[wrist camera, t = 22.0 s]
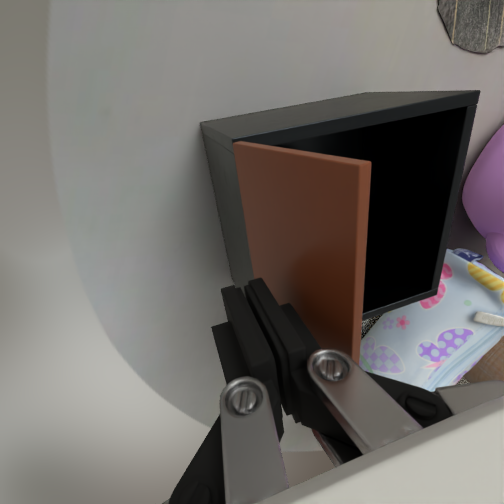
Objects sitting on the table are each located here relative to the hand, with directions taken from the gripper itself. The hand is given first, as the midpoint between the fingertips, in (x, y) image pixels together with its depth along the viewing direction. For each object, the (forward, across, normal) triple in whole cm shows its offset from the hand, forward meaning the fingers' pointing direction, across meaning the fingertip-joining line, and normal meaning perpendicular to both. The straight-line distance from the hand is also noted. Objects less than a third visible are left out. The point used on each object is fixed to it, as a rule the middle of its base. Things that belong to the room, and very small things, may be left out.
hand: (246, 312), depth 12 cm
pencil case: (+12, -17, +17) cm, 27 cm away
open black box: (+12, -7, 0) cm, 14 cm away
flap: (-1, -2, 0) cm, 2 cm away
